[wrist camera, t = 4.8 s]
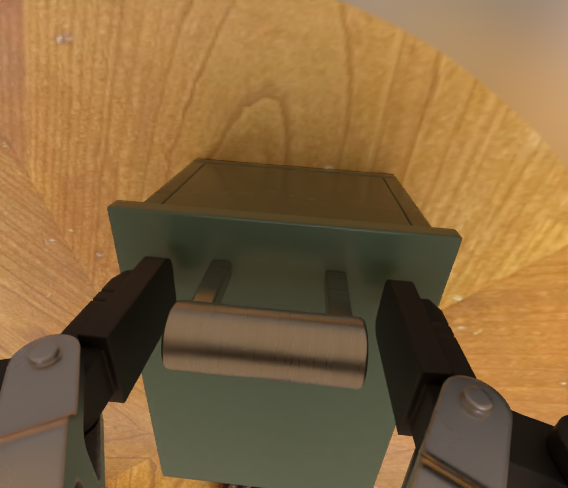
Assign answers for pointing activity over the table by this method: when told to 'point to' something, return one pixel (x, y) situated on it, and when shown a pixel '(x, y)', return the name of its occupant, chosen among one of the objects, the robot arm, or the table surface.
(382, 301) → the robot arm
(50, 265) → the table surface
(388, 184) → the bin
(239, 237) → the lid
